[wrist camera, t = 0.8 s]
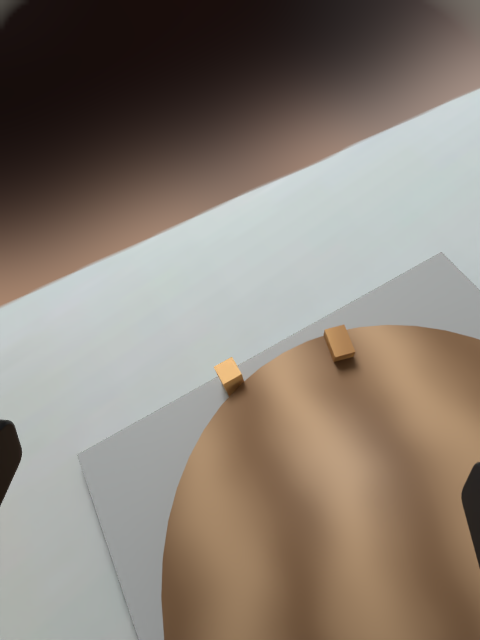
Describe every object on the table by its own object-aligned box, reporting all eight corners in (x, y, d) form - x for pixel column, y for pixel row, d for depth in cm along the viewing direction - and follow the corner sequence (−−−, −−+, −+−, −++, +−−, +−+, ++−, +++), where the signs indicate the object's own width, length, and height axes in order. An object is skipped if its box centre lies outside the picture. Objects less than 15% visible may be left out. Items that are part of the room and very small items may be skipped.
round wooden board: (230, 1041, 15) (206, 1275, 10) (143, 394, 26) (113, 369, 21) (880, 851, 15) (1135, 997, 10) (516, 295, 26) (564, 249, 22)
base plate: (882, 714, 17) (1039, 767, 14) (339, 1206, 14) (358, 1452, 10) (436, 260, 29) (458, 224, 26) (84, 456, 26) (51, 447, 22)
